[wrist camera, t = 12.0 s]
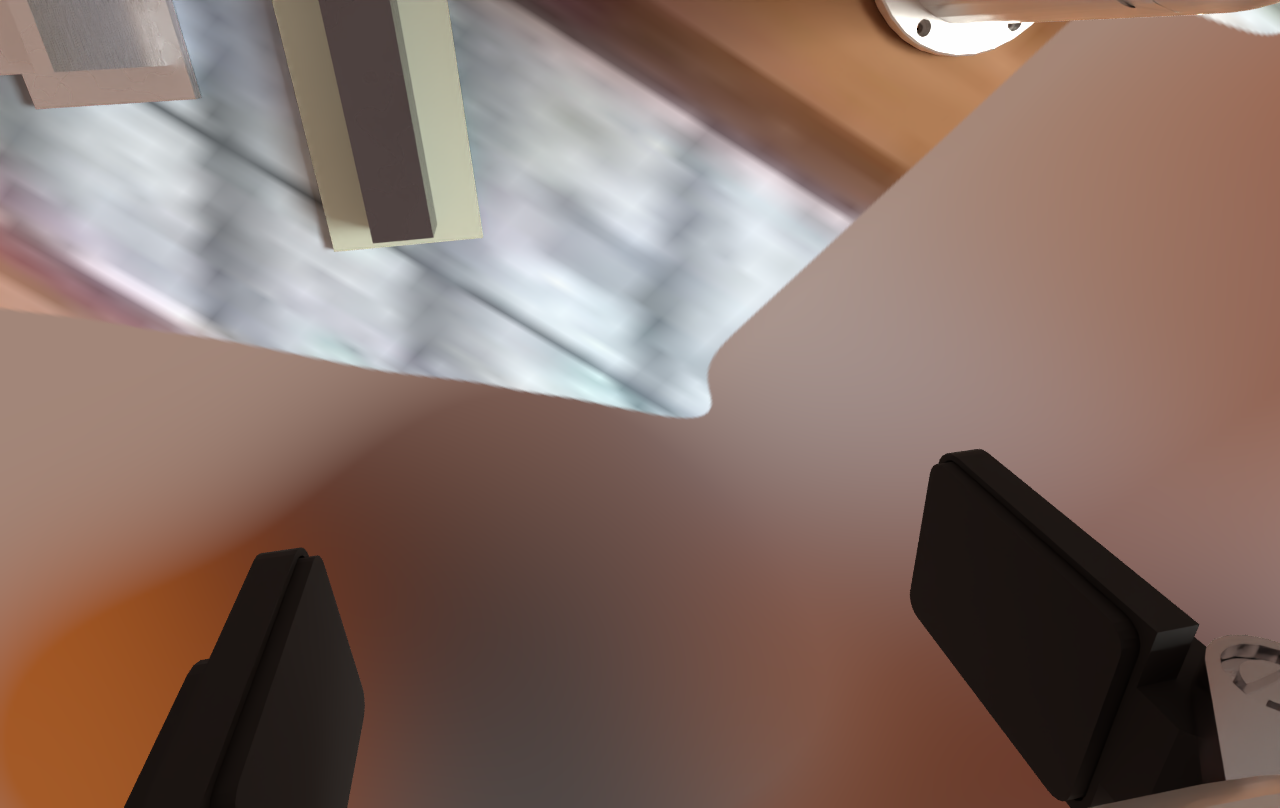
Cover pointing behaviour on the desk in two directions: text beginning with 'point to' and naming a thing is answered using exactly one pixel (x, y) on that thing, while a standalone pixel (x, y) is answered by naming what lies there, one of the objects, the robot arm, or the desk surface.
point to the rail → (381, 117)
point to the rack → (96, 51)
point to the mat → (435, 109)
